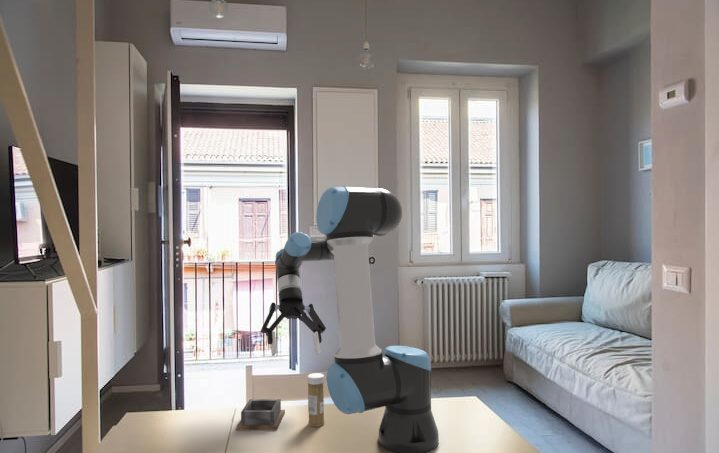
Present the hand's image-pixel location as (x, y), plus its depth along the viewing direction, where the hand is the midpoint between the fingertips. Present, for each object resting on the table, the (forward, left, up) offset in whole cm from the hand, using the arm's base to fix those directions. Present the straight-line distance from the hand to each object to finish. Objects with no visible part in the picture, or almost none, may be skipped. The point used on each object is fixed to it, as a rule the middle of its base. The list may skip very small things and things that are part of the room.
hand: (296, 353), depth 133 cm
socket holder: (+3, +11, -17) cm, 20 cm away
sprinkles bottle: (-11, +4, -17) cm, 20 cm away
